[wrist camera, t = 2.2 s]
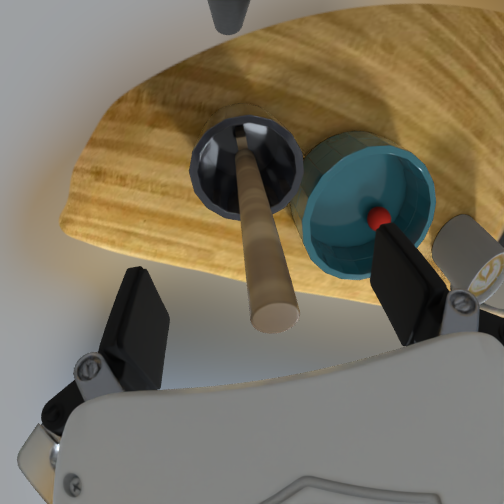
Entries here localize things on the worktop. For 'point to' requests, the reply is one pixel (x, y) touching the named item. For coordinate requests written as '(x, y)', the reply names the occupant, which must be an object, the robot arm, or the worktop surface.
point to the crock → (265, 152)
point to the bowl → (359, 200)
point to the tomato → (378, 217)
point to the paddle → (262, 250)
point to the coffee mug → (469, 257)
